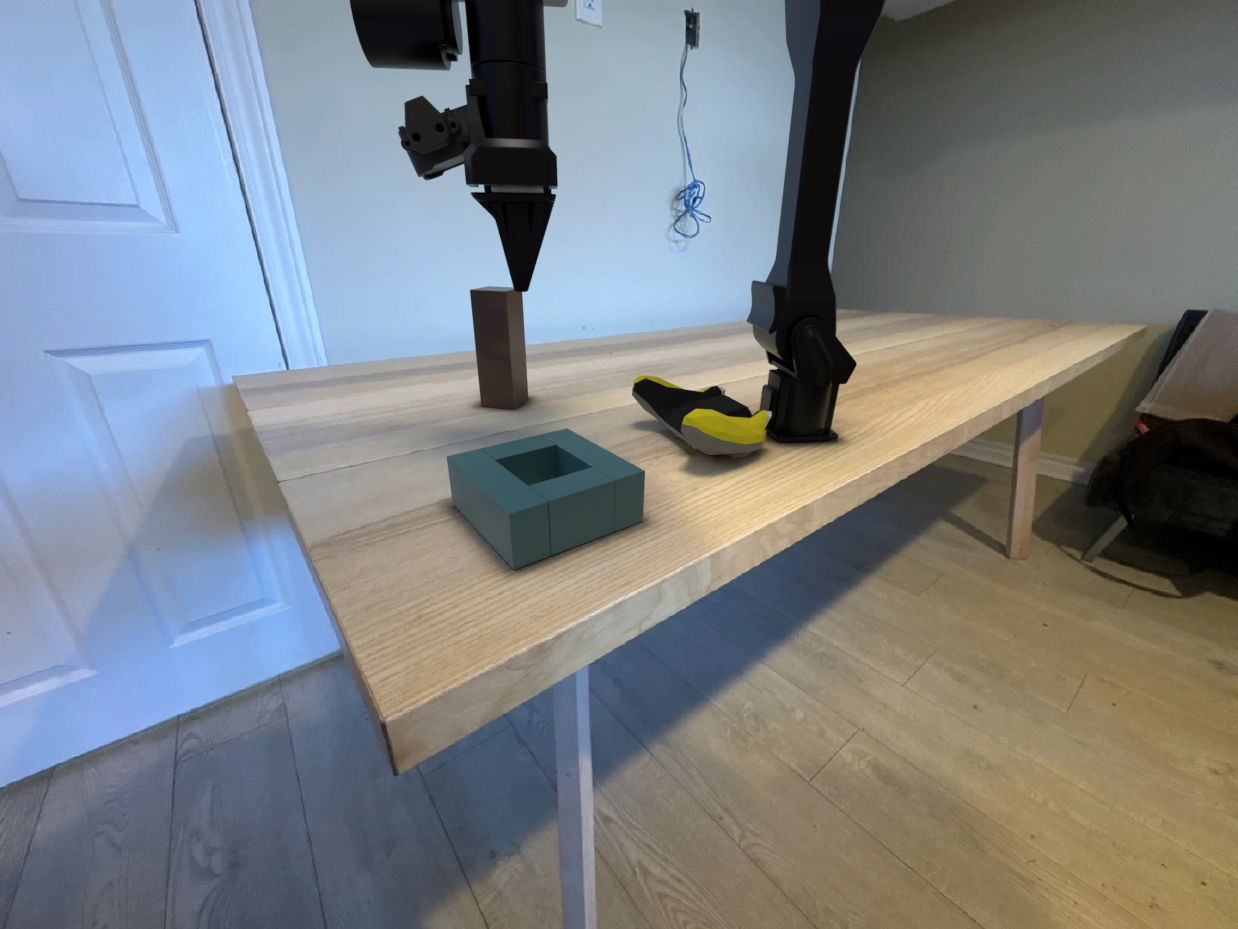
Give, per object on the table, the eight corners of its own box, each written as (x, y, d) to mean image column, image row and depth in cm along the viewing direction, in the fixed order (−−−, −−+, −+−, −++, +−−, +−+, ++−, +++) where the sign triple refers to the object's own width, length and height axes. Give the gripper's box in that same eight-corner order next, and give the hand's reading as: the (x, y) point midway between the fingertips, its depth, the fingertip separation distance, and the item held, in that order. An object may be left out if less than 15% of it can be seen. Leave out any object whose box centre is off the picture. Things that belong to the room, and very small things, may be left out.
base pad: (568, 471, 44) (566, 427, 43) (643, 521, 37) (645, 470, 35) (452, 504, 39) (446, 455, 37) (513, 570, 31) (509, 513, 30)
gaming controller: (689, 479, 43) (787, 463, 47) (694, 417, 41) (797, 405, 44) (624, 422, 56) (704, 413, 59) (625, 372, 54) (709, 365, 57)
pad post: (528, 399, 63) (522, 287, 58) (514, 409, 59) (505, 291, 54) (497, 396, 64) (488, 286, 59) (480, 406, 60) (469, 289, 55)
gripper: (423, 95, 47) (445, 277, 53) (361, 21, 30) (404, 299, 37) (546, 101, 49) (553, 277, 55) (553, 33, 32) (562, 298, 38)
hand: (522, 286), depth 46 cm, fingers open, 9 cm apart
